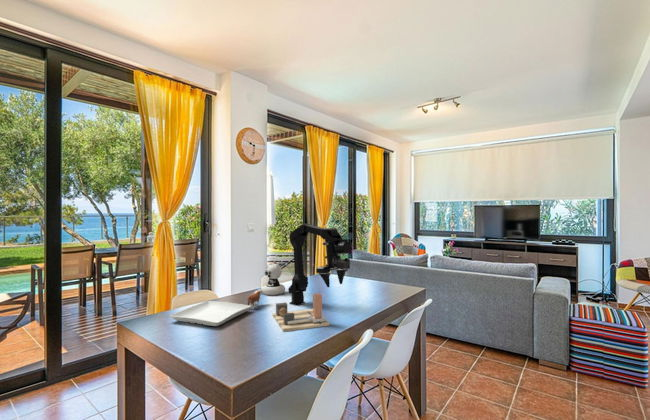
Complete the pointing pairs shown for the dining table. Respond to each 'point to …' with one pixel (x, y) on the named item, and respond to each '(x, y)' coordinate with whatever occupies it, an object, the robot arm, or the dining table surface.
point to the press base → (282, 309)
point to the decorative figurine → (273, 280)
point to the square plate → (210, 313)
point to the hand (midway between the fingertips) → (334, 285)
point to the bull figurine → (254, 298)
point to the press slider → (315, 318)
